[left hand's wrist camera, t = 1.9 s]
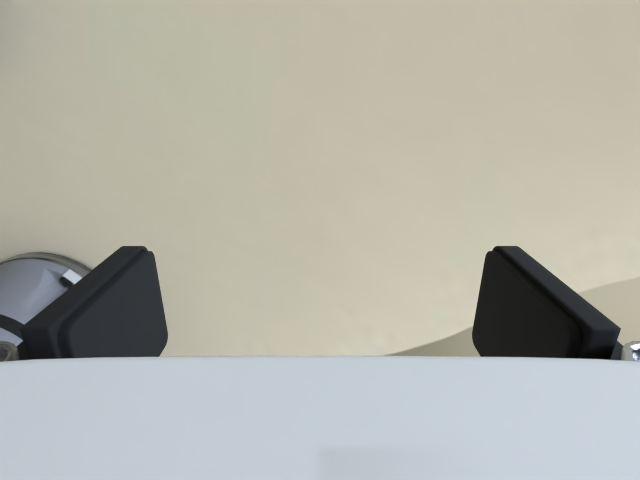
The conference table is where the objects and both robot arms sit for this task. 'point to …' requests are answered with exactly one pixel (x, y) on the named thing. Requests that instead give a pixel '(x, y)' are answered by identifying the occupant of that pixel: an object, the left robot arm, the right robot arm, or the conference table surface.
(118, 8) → the conference table surface
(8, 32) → the conference table surface
